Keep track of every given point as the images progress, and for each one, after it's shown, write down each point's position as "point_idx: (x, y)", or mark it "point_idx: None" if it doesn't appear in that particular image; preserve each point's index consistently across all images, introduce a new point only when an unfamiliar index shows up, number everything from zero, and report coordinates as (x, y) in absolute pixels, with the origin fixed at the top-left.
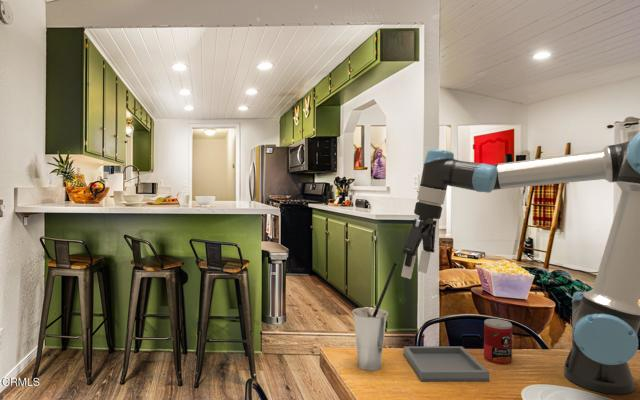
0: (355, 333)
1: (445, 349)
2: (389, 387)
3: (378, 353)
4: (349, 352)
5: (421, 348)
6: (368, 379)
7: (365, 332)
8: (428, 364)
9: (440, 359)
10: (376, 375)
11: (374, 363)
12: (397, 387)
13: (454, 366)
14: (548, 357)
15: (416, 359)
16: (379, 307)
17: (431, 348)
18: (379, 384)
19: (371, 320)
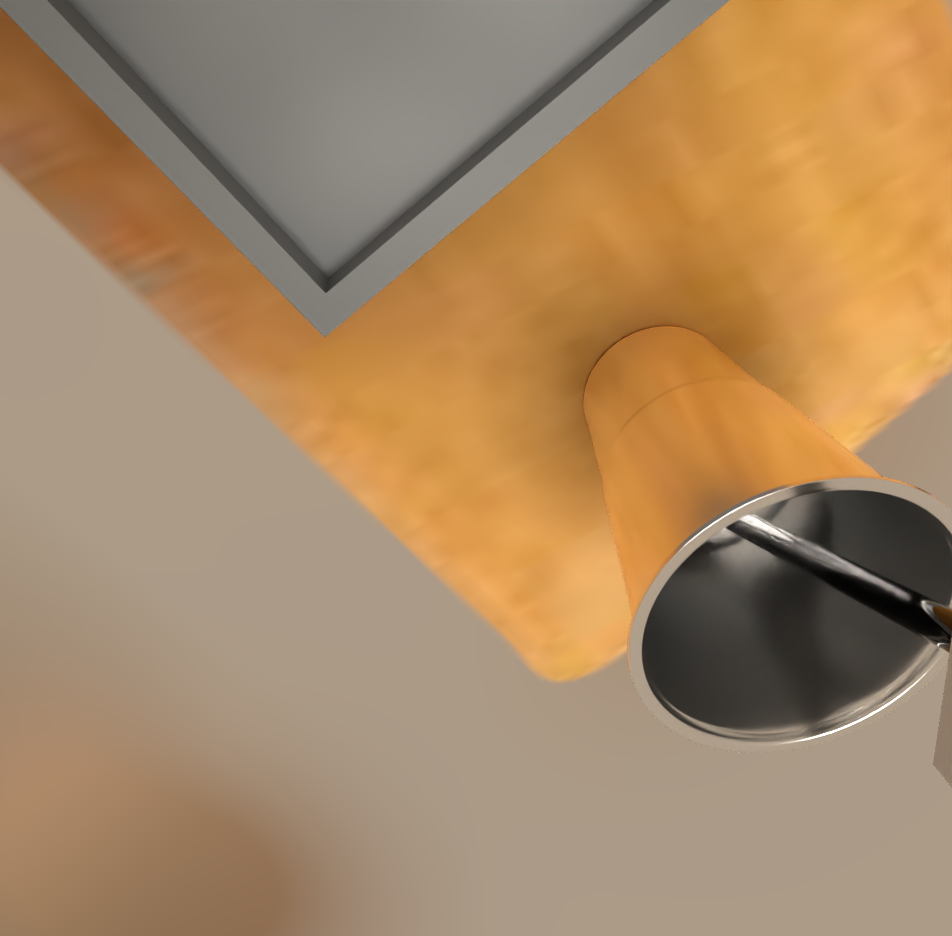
0: (782, 581)
1: (70, 18)
2: (891, 144)
3: (729, 366)
4: (529, 579)
5: (245, 208)
6: (837, 304)
7: (872, 509)
8: (426, 52)
9: (252, 2)
10: (761, 295)
11: (725, 355)
12: (870, 100)
13: None
14: None
15: (515, 136)
16: (891, 583)
17: (177, 134)
18: (875, 217)
19: (937, 530)
